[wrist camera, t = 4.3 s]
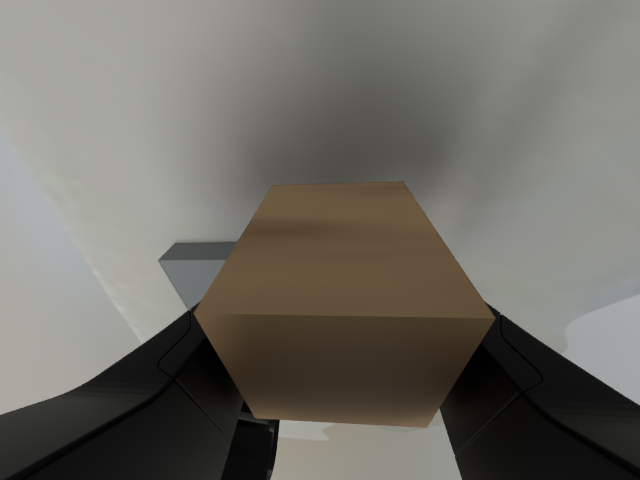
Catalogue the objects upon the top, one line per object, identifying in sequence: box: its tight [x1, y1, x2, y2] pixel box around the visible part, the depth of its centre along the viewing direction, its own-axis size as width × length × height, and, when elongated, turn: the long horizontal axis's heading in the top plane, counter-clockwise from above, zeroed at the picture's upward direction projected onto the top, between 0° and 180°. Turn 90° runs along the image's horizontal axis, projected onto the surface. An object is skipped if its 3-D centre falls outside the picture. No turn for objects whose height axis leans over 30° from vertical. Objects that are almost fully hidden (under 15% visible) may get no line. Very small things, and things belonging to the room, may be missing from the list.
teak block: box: [193, 181, 496, 428], centre depth 8 cm, size 5×5×6 cm
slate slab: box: [158, 242, 237, 310], centre depth 23 cm, size 10×9×3 cm
